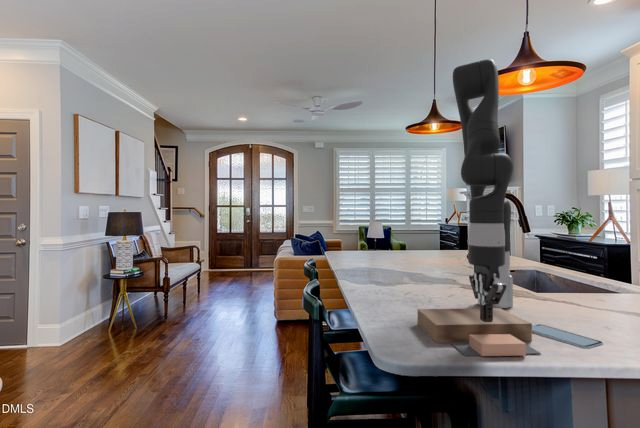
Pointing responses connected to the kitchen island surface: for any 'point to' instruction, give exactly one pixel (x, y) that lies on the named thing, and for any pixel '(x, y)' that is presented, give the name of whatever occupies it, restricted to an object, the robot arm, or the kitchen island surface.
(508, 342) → the terracotta tile
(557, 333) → the smartphone
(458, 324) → the block
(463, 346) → the rubber mat
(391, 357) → the kitchen island surface
